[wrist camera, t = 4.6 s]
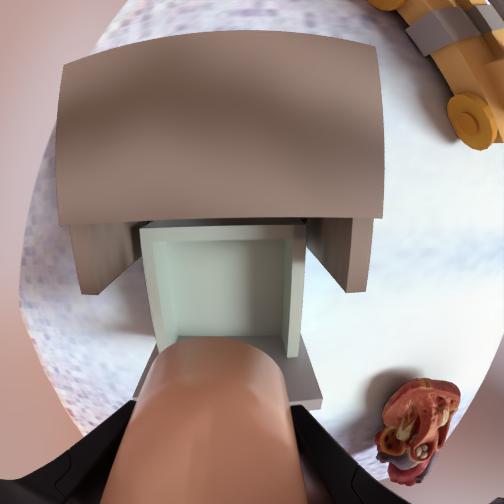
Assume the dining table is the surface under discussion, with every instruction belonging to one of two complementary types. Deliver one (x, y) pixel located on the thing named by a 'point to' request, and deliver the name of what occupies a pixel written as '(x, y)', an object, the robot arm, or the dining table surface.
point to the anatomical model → (416, 428)
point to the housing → (221, 144)
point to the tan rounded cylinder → (209, 431)
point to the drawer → (231, 289)
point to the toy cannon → (463, 59)
